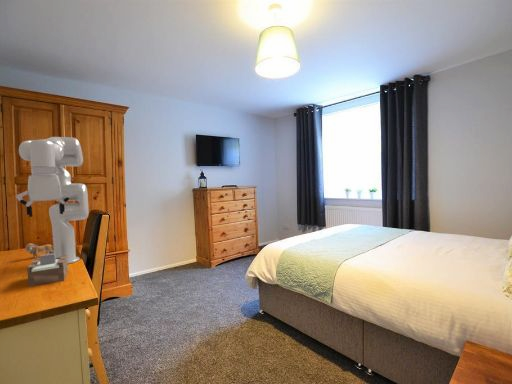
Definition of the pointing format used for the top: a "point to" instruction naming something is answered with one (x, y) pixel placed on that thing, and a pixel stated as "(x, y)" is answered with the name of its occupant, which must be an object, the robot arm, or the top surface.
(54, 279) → the slide box
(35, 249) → the lion figurine
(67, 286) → the top surface
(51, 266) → the cover plate
